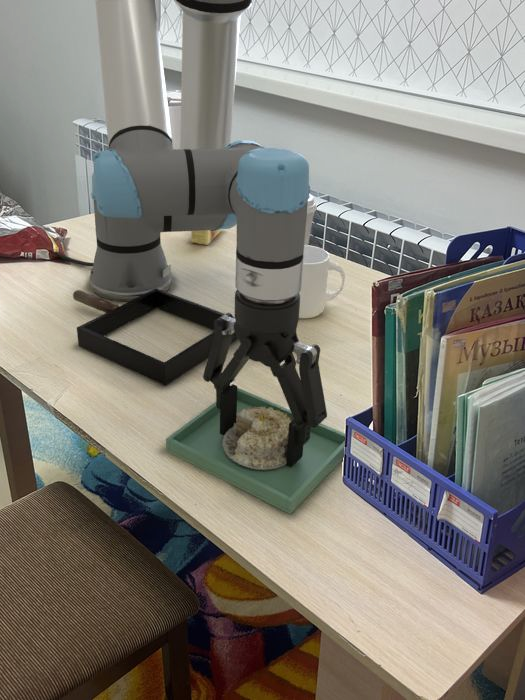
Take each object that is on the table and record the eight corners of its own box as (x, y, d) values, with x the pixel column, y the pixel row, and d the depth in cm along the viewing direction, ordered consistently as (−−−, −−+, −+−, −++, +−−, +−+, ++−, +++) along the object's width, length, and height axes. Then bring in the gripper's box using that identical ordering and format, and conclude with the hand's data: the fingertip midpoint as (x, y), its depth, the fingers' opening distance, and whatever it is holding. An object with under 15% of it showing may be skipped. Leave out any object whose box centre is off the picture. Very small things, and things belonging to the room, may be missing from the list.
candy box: (204, 229, 158) (204, 162, 150) (222, 231, 157) (222, 164, 150) (190, 243, 151) (189, 173, 143) (209, 245, 150) (209, 176, 142)
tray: (166, 450, 90) (165, 438, 89) (235, 398, 101) (236, 386, 100) (290, 514, 81) (291, 501, 80) (352, 449, 92) (353, 437, 91)
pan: (34, 326, 117) (31, 307, 115) (113, 289, 130) (112, 272, 128) (165, 386, 103) (164, 366, 101) (239, 337, 116) (240, 319, 114)
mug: (347, 318, 124) (354, 263, 118) (281, 320, 122) (285, 264, 116) (336, 296, 131) (341, 243, 125) (273, 298, 129) (276, 245, 124)
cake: (289, 423, 96) (295, 391, 93) (304, 472, 87) (311, 438, 85) (218, 423, 94) (221, 391, 91) (226, 473, 85) (230, 438, 83)
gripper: (171, 274, 82) (175, 426, 93) (337, 333, 71) (319, 496, 82) (211, 255, 87) (210, 401, 98) (370, 307, 76) (349, 463, 88)
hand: (260, 444), depth 90 cm, fingers closed on cake, 10 cm apart
